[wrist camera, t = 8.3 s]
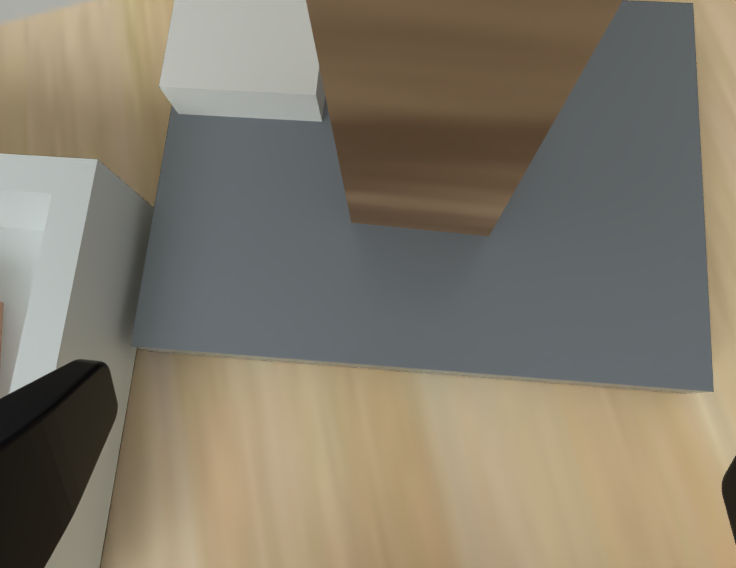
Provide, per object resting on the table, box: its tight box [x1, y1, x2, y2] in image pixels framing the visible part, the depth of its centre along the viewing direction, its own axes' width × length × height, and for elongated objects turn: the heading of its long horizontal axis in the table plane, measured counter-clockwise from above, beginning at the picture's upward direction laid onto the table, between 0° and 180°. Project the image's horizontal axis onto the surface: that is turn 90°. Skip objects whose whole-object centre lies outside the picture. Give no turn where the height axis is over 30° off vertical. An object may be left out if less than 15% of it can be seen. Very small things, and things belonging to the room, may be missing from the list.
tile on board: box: [159, 0, 325, 122], centre depth 17 cm, size 4×4×2 cm
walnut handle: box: [306, 0, 623, 236], centre depth 10 cm, size 4×4×13 cm
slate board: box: [130, 0, 714, 394], centre depth 17 cm, size 12×16×2 cm
